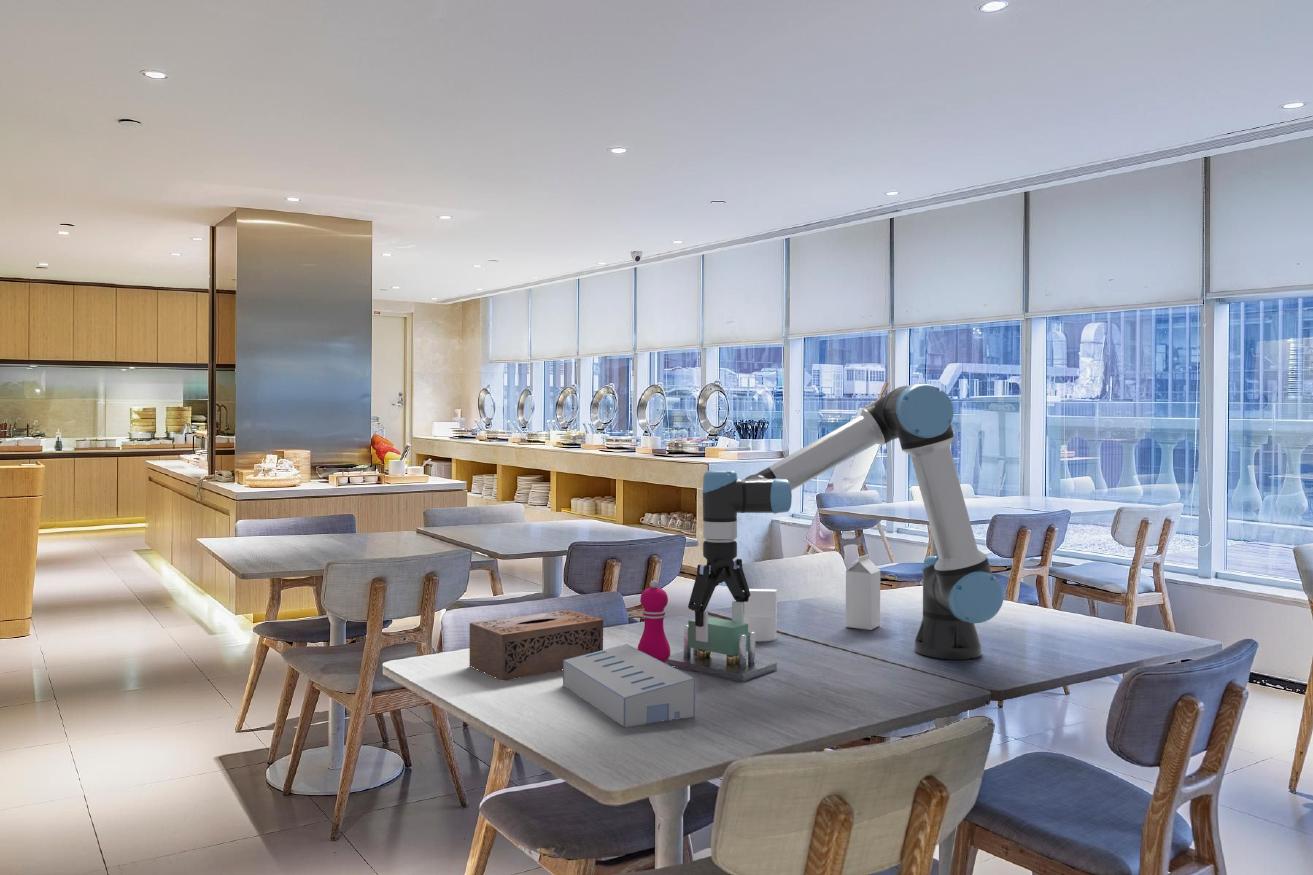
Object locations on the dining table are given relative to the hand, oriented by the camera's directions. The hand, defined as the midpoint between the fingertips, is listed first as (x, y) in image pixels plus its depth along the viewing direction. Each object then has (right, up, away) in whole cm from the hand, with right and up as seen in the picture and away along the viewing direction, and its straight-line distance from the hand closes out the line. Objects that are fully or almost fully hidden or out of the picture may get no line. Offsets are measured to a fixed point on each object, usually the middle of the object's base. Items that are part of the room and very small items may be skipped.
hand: (720, 635), depth 214 cm
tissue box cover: (-41, -7, +1) cm, 41 cm away
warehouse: (-20, -8, -26) cm, 34 cm away
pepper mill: (-15, -7, -5) cm, 17 cm away
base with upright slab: (+12, -7, +30) cm, 33 cm away
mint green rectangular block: (-1, -3, 0) cm, 3 cm away
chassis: (0, -7, 0) cm, 7 cm away
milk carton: (+41, -7, +44) cm, 60 cm away
